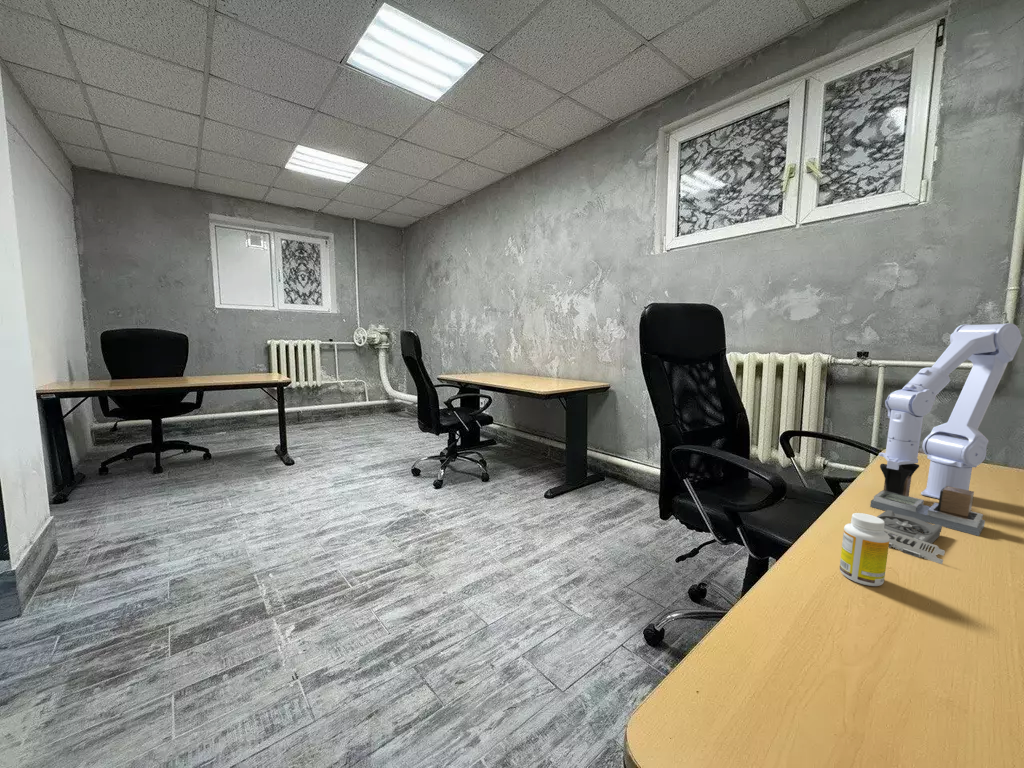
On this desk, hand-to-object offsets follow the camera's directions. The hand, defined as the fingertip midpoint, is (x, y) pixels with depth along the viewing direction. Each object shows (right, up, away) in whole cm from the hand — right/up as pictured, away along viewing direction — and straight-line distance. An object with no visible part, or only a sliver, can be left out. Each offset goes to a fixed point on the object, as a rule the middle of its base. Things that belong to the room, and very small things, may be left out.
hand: (896, 492), depth 101 cm
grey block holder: (-3, -3, -10) cm, 11 cm away
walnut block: (0, -2, 0) cm, 2 cm away
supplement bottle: (-39, -5, -35) cm, 52 cm away
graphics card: (-18, -4, -21) cm, 28 cm away
